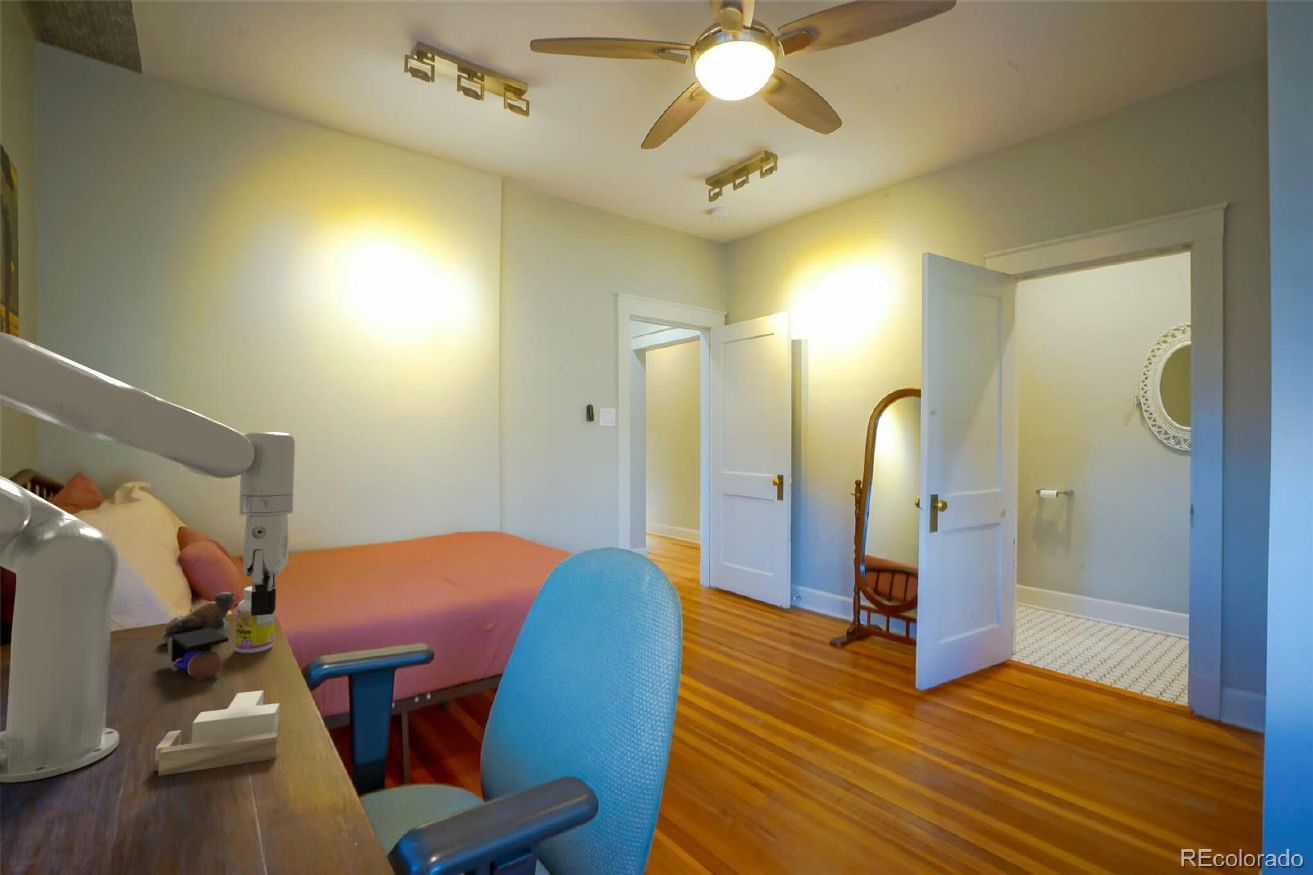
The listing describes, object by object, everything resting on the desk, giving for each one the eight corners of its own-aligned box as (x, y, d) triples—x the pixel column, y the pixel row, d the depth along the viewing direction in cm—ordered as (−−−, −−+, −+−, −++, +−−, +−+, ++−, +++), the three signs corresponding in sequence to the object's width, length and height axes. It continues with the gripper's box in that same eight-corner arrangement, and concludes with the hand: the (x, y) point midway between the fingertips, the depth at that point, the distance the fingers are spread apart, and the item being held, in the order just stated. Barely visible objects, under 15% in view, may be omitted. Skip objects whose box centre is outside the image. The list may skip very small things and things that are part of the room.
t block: (273, 736, 87) (274, 712, 87) (191, 747, 83) (192, 722, 83) (285, 709, 96) (286, 687, 96) (212, 718, 92) (213, 695, 92)
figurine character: (162, 673, 112) (185, 686, 103) (163, 632, 112) (186, 642, 103) (205, 664, 117) (231, 675, 108) (206, 625, 118) (232, 633, 109)
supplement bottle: (228, 650, 121) (231, 588, 121) (262, 641, 127) (265, 582, 127) (246, 656, 118) (249, 593, 118) (280, 647, 124) (283, 586, 124)
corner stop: (275, 758, 81) (276, 736, 81) (149, 777, 76) (150, 753, 76) (284, 737, 87) (285, 717, 87) (167, 753, 81) (169, 731, 82)
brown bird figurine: (158, 648, 121) (160, 600, 121) (166, 638, 127) (169, 592, 127) (229, 641, 126) (231, 595, 127) (234, 632, 132) (236, 587, 133)
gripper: (283, 509, 93) (280, 624, 93) (300, 500, 107) (296, 600, 107) (227, 510, 90) (223, 629, 90) (251, 500, 104) (247, 603, 104)
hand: (263, 613), depth 98 cm, fingers closed
